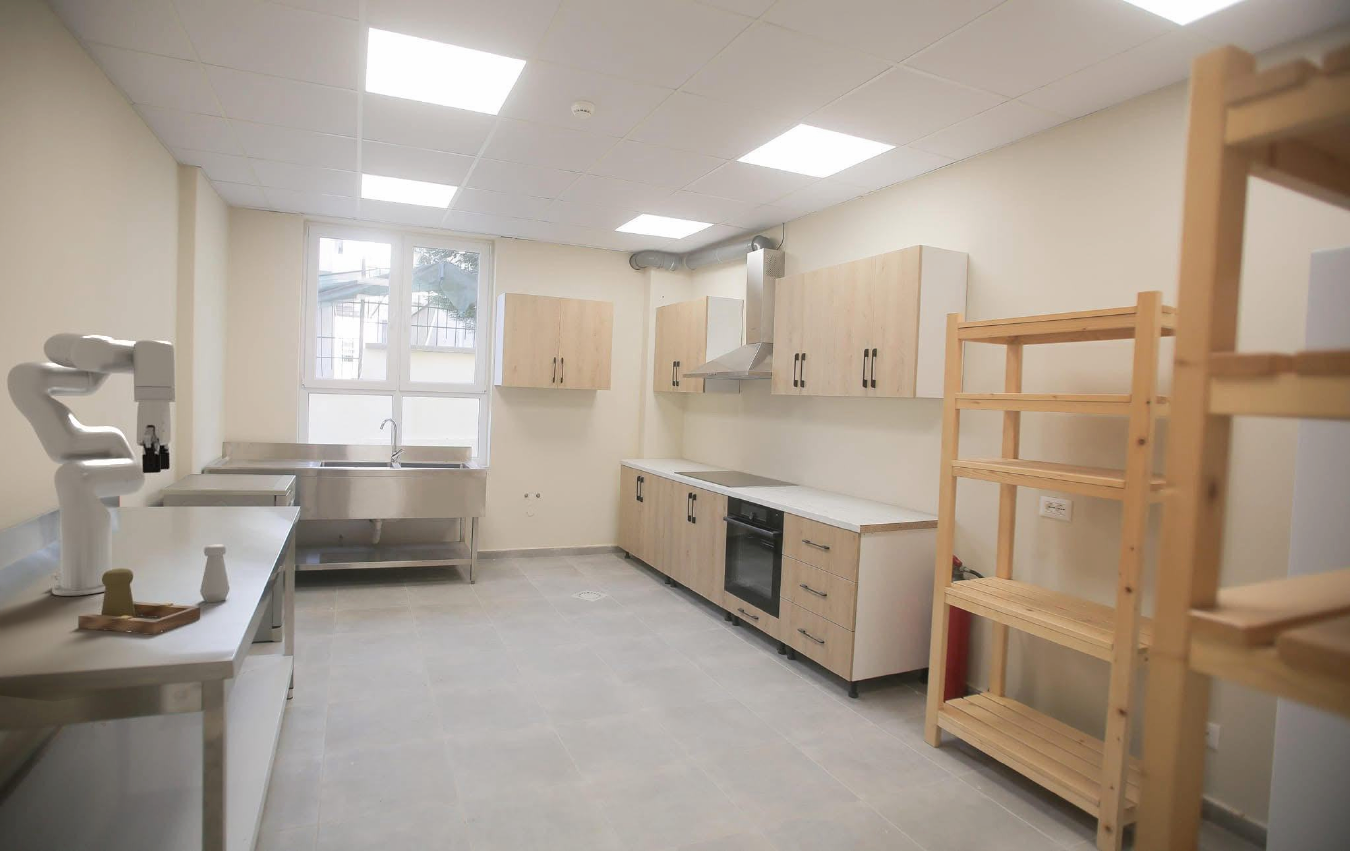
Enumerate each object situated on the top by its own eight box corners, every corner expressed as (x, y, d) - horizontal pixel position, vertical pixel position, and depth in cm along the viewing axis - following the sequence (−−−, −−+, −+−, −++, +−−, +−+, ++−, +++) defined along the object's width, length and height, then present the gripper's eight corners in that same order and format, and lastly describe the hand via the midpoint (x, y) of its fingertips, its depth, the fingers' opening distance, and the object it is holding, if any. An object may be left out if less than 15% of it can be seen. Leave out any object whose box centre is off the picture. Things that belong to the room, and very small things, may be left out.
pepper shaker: (112, 616, 153) (112, 566, 153) (142, 616, 154) (142, 566, 154) (92, 625, 147) (92, 572, 147) (123, 625, 148) (123, 572, 148)
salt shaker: (214, 604, 164) (214, 548, 163) (193, 602, 165) (193, 546, 165) (235, 597, 170) (235, 543, 169) (214, 595, 171) (214, 541, 170)
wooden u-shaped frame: (78, 627, 146) (78, 614, 146) (128, 612, 157) (128, 599, 157) (154, 634, 143) (154, 620, 143) (200, 618, 154) (200, 605, 154)
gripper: (143, 396, 167) (145, 469, 168) (124, 394, 152) (126, 474, 152) (181, 396, 171) (183, 467, 171) (167, 394, 155) (168, 473, 155)
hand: (156, 471), depth 162 cm, fingers open, 9 cm apart
